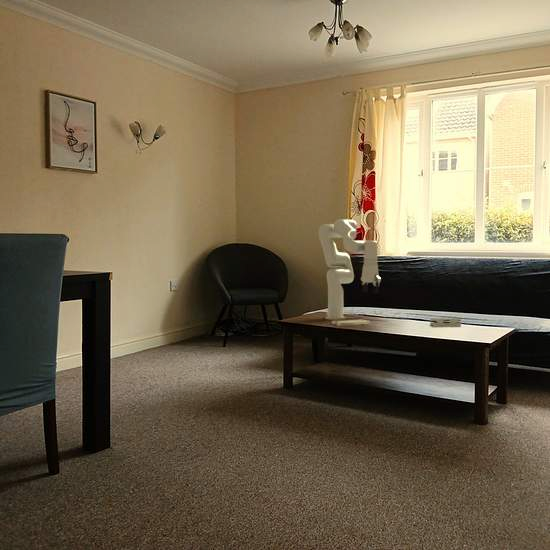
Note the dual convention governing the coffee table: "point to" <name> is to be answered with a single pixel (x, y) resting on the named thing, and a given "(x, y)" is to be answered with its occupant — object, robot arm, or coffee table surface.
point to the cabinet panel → (349, 321)
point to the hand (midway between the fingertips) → (370, 292)
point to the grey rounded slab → (440, 322)
